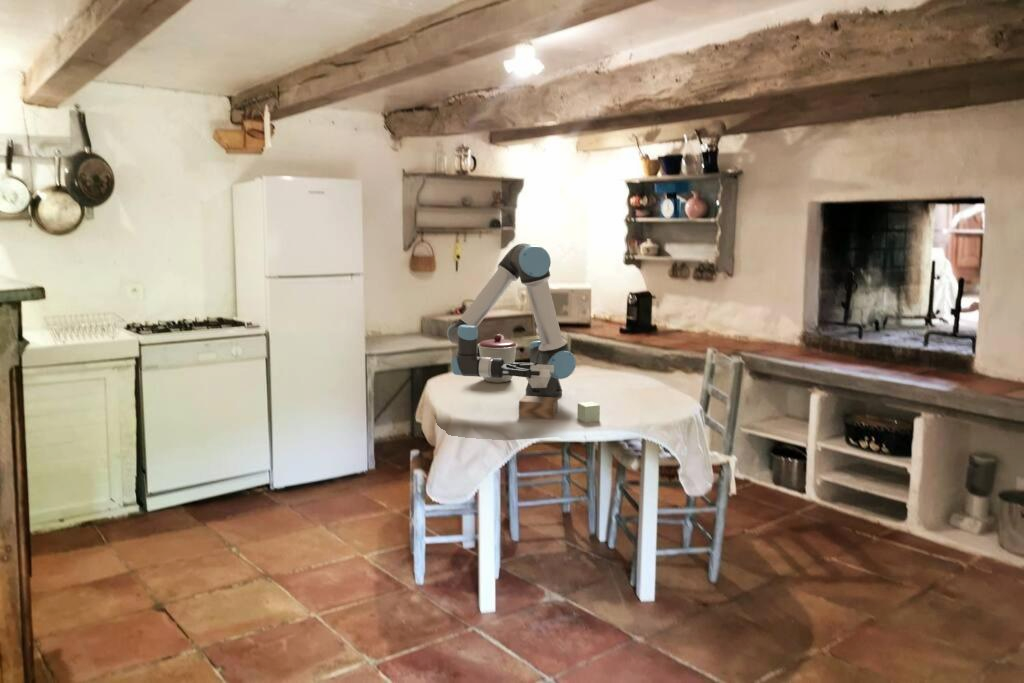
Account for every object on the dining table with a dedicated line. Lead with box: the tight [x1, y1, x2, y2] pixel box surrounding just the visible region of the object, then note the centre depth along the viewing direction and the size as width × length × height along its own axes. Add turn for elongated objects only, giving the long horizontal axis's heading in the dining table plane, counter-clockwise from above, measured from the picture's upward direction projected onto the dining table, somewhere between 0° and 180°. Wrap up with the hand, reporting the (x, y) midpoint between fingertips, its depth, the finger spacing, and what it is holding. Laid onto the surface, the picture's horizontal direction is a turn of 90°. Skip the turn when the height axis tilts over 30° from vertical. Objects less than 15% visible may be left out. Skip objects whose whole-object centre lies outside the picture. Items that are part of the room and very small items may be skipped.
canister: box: [478, 334, 519, 384], centre depth 356 cm, size 18×18×21 cm
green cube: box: [576, 401, 601, 423], centre depth 293 cm, size 6×6×6 cm
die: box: [525, 365, 551, 388], centre depth 297 cm, size 8×9×10 cm
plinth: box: [518, 395, 559, 420], centre depth 299 cm, size 13×9×6 cm
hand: (551, 371), depth 296 cm, fingers closed on die, 8 cm apart
